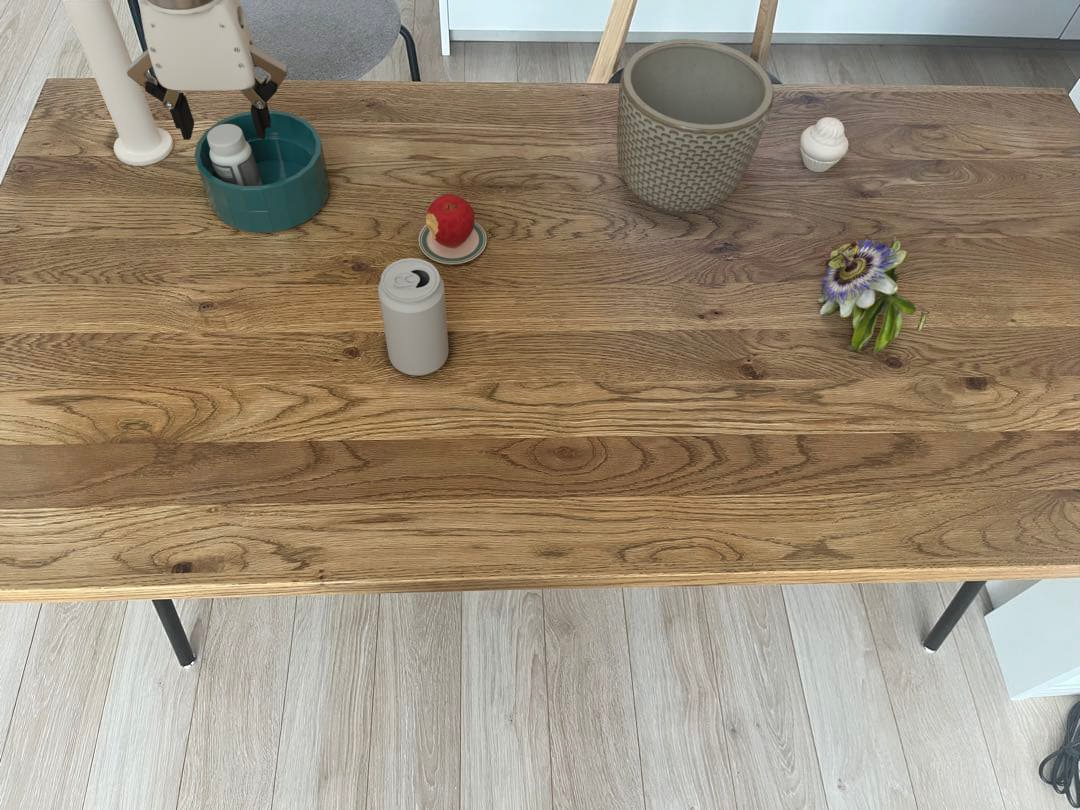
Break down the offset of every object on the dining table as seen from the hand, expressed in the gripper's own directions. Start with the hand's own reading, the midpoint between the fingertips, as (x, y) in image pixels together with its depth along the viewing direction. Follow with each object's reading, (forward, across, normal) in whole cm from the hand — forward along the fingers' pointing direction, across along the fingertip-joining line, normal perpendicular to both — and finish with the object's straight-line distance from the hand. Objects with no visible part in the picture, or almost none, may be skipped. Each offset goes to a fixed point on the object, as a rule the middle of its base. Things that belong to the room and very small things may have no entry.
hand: (226, 130), depth 98 cm
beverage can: (+10, -21, +26) cm, 35 cm away
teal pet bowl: (+9, -3, 0) cm, 10 cm away
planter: (+9, -53, +1) cm, 54 cm away
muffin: (+9, -73, -4) cm, 74 cm away
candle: (+10, +13, -9) cm, 19 cm away
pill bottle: (+9, 0, 0) cm, 9 cm away
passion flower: (+9, -71, +22) cm, 75 cm away
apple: (+10, -25, +9) cm, 28 cm away
